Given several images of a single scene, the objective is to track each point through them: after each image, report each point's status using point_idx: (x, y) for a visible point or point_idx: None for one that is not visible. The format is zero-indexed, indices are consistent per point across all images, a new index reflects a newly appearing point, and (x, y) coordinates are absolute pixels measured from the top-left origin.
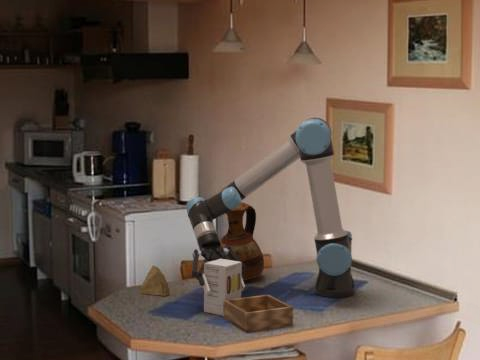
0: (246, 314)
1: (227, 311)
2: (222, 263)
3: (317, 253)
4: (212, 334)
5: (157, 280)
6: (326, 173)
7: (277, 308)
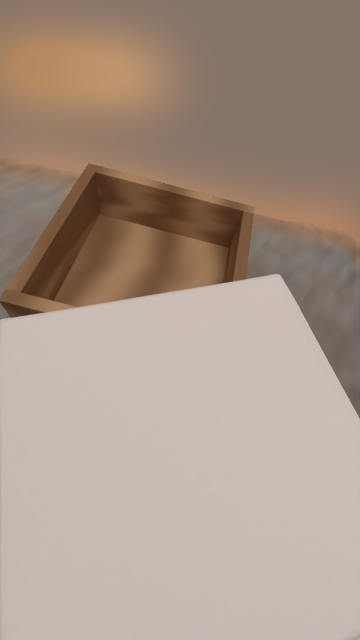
0: (252, 208)
1: None
2: (249, 376)
3: None
4: (320, 291)
5: None
6: None
7: (138, 181)
